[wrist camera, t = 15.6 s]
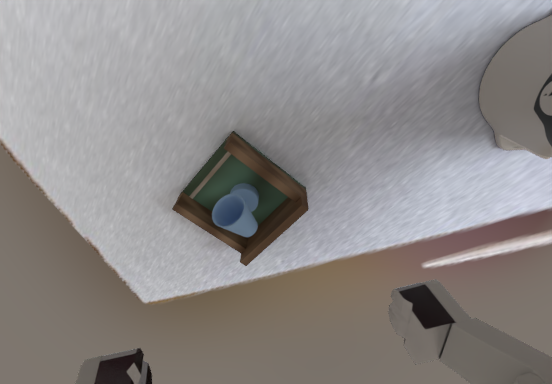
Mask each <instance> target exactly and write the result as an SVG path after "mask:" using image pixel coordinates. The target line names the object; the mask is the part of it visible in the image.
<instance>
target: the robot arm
mask: <svg viewBox="0 0 552 384" xmlns="http://www.w3.org/2000/svg"><path fill="white" fill-rule="evenodd" d="M479 104H480V109H481V112H482V114H483V116H484V118H485V119H486V121H487V122H488V123H489V124H490V126H491V127H492V128H493V130H494V134H495V141H496V144H497V146H498V147H499V148H501V149H503V150H527V151H529V152H531V153H533V154H535V155H537V156H539V157H541V158H545V159H549V158H550V157H552V15H550V16H548V17H546V18H544V19H542V20H540V21H538V22H535V23H533V24H531V25H529V26H527V27H526V28H524V29H523V30H521V31H519V32H518V33H517V34H515V35H514V36H513V37H512V38H510V39H509V40H508V41H507V42H506V43H505V44H504V45H503V46H502V47H501V48H500V49H499V51H498V52H497V53H496V54H495V56H494V57H493V59H492V60H491V62H490V63H489V65H488V67H487V69H486V71H485V73H484V76H483V78H482V81H481V85H480V91H479ZM391 298H392V299H393V302H392V303H391V304H390V305H389V311H388V312H389V318H390V322H391V324H392V326H393V328H394V330H395V332H396V334H398V335H400V336H401V337H403V338H404V339H405V340H404V347H405V349H406V350H407V352H408V354H409V355H410V357H411V359H412V360H413V362H414V363H415V365H416V364H421V363H425V362H429V361H434V360H438V359H440V361H441V362H442V363H444V364H445V365H446V366H448V367H449V368H450V369H452V370H453V371H454V372H456V373H457V374H459V375H460V376H461V377H462V378H464V379H465V380H466V381H468V382H469V383H470V384H552V357H551V356H549V355H547V354H545V353H543V352H541V351H539V350H537V349H535V348H533V347H531V346H529V345H528V344H526V343H524V342H522V341H520V340H518V339H516V338H514V337H512V336H510V335H508V334H506V333H504V332H502V331H500V330H498V329H496V328H494V327H493V326H491V325H489V324H487V323H485V322H483V321H481V320H479V319H477V318H473V319H471V317H470V316H469V315H468V314H467V313H466V312H465V311H464V309H463V308H462V307H461V306H460V305H459V304H458V303H457V301H456V300H455V299H454V298H453V297H452V295H451V294H450V293H449V292H448V291H447V290H446V289H445V287H444V286H443V285H442V284H441V283H440V282H439V281H437V280H431V281H427V282H423V283H416V284H412V285H408V286H405V287H400V288H397V289H394V290H393V291H392V293H391ZM143 356H144V354H143V352H142V350H141V349H140V348H137V349H133V350H128V351H123V352H119V353H114V354H109V355H105V356H99V357H95V358H91V359H86V360H85V361H84V362H83V364H82V365H81V367H80V370H79V373H78V377H77V380H76V383H75V384H152V373H151V370H150V366H149V364H148V363H147V362H145V361H143Z"/></svg>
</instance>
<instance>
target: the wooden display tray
mask: <svg viewBox="0 0 552 384" xmlns="http://www.w3.org/2000/svg"><path fill="white" fill-rule="evenodd" d="M240 183H247V184H250V185H252V186H254V187H255V188H256V189H257V191H258V193H259V201H258V206H257V208H256V209H255V210H254V211H252V212H251V213H252V215H253V216H254V218H255V220H256V222H257V224H258V228H257V231H256V232H255V234H253V235H252V236H250V237H243V236H241V235H238V234H236V233H233V232H231V231H229V230H226V229H224V228H221V227H219V226H217V225H216V224H215V223H214V222H213V220H212V211H213V208H214V206H215V204H216V203H217V202H218V201H219V200H220V199H221V198H222V197H224V196H225V195H228V194H230V192H231V189H232V188H233V187H234V186H235V185H237V184H240ZM173 210H174V211H176V212H177V213H179V214H180V215H182V216H184V217H185V218H187V219H188V220H190V221H191V222H193V223H195V224H196V225H198V226H199V227H201V228H202V229H204V230H206V231H207V232H209V233H210V234H212V235H213V236H215V237H216V238H218V239H220V240H221V241H223V242H224V243H226V244H227V245H229V246H231V247H232V248H234V249H235V250H237V251H238V252H240V253H241V259H240V262H241V263H242V264H244V265H245V266H247V265H248V264H249V263H250V262H251V261H252V260H253V259H254V258H256V257H257V256H258V255H259V254H260V253H261V252H262V251H263V250H264V249H265V248H267V247H268V246H269V245H270V244H271V243H272V242H273V241H274V240H275V239H277V238H278V237H279V236H280V235H281V234H282V233H283V232H284V231H285V230H287V229H288V228H289V227H290V226H291V225H292V224H293V223H294V222H295V221H297V220H298V219H299V218H300V217H301V216H302V215H303V214H304V213H305V212H306V211H308V202H307V194H306V188H305V187H304V186H303V185H301V184H300V183H299V182H297V181H296V180H295V179H294V178H292V177H291V176H290V175H289V174H287V173H286V172H285V171H283V170H282V169H281V168H280V167H278V166H277V165H276V164H274V163H273V162H272V161H271V160H269V159H268V158H267V157H266V156H264V155H263V154H262V153H260V152H259V151H258V150H257V149H255V148H254V147H253V146H251V145H250V144H249V143H248V142H246V141H245V140H244V139H243V138H241V137H240V136H239V135H237V134H236V133H235V132H234V131H233V132H232V133H231V134H230V135H229V137H228V138H227V139H226V140H225V141H224V143H223V144H222V145H221V146H220V147H219V149H218V150H217V151H216V152H215V153H214V155H213V156H212V157H211V158H210V159H209V161H208V162H207V163H206V164H205V165H204V167H203V168H202V169H201V170H200V171H199V173H198V174H197V175H196V176H195V177H194V179H193V180H192V181H191V182H190V183H189V184H188V186H187V187H186V188H185V189H184V190H183V192H182V193H181V194H180V195H179V197H178V199H177V201H176V203H175V205H174V207H173Z"/></svg>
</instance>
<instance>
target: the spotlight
mask: <svg viewBox="0 0 552 384" xmlns="http://www.w3.org/2000/svg"><path fill="white" fill-rule="evenodd" d="M258 201H259V193H258V191H257V189H256V188H255V187H254V186H252V185H250V184H247V183H240V184H237V185H235V186H234V187H233V188H232V189H231V192H230V194H228V195H225V196H224V197H222V198H221V199H220V200H219V201H218V202H217V203H216V204H215V206H214V208H213V211H212V220H213V222H214V223H215V224H216V225H217V226H219V227H221V228H224V229H226V230H229V231H231V232H233V233H236V234H238V235H241V236H243V237H250V236H252V235H253V234H255V232H256V231H257V228H258V224H257V222H256V220H255V218H254V216H253V215H252V213H251V212H252V211H254V210H255V209H256V208H257V206H258Z"/></svg>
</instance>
